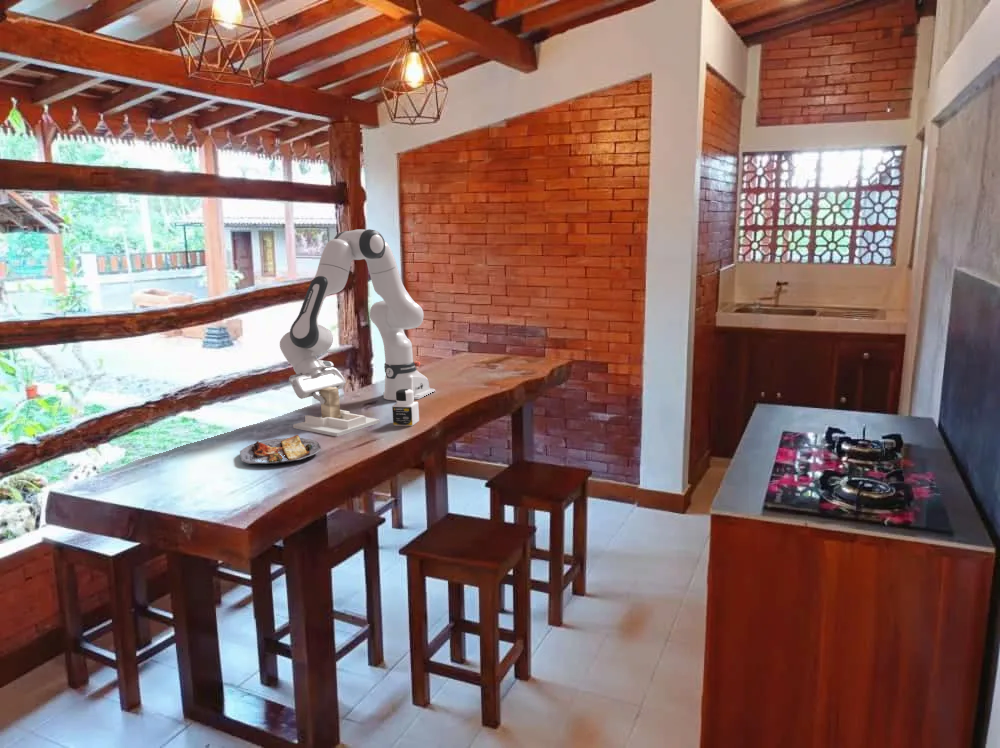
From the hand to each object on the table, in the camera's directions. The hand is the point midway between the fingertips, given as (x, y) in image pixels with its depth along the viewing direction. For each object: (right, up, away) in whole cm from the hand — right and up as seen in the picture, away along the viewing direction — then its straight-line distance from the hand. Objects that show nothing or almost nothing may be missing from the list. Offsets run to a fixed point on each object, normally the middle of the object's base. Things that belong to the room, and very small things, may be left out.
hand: (331, 401), depth 257 cm
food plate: (-8, -16, -32) cm, 37 cm away
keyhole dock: (+2, -9, +1) cm, 9 cm away
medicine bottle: (+26, -8, 0) cm, 27 cm away
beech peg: (0, -6, +2) cm, 7 cm away
